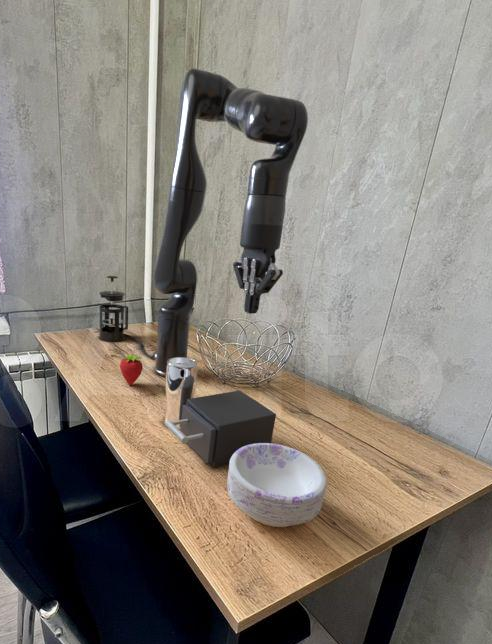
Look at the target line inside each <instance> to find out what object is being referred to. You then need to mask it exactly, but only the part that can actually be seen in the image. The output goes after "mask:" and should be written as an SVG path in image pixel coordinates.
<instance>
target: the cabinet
mask: <svg viewBox="0 0 492 644" xmlns="http://www.w3.org/2000/svg"><path fill="white" fill-rule="evenodd" d="M187 404H188V405H189V406H190V407H191V408H192V409H194V410H196V411H197V412H198V413H199V414H201V415H202V416H203V417H204V418H205V419H206V420H208V421H209V422H210V423H211V424H212V425H214V426H215V427H216V438H215V446H214V455H213V462H212V463H209V464H210V466H211V467H212V468H214V469H217V468H219V467H223V466H226V465H229V464H230V459H231V457H232V455H233V454H234V453H235V452H236V451H237V450H238V449H240V448H242V447H244V446H246V445H250V444H256V443H271V444H272V440H273V434H274V429H275V423H276V417H277V413H275V412H274V411H272V410H270V409H269V408H268V407H266V406H264V405H263V404H261V403H260V402H259V401H257V400H255V399H253V398H252V397H251V396H249V395H248V394H246V393H244V392H243V391H242V390H239V389H238V390H233V391H227V392H222V393H221V392H220V393H216V394H210V395H204V396H203V395H202V396H197V397H193V398H191V399H187V403H186V405H187Z"/></svg>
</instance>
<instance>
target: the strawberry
mask: <svg viewBox="0 0 492 644" xmlns="http://www.w3.org/2000/svg"><path fill="white" fill-rule="evenodd" d="M134 353H135V351H133V352H132V354H131V355H130V354H126V356H122V358H123V359H121V361H120V364H119V369H120V372H121V375H122V376H123V378H124V380H125V381H126V383H127V384H128V385H129V386H132V385H134V383H136V381H137V380H138V379H139V378H140V376H141V374H142V372H143V370H144V369H143V363H142V362H141V360H140V359H143V357H142V356H135V355H134Z"/></svg>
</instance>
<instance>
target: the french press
mask: <svg viewBox="0 0 492 644" xmlns="http://www.w3.org/2000/svg"><path fill="white" fill-rule="evenodd" d="M106 279H110V283H111V290H105V291H100V292H99V295H100V298H101V299H105V300H106V301H108V302H110V303H105V304H101V305H99V335H98V339H99V340H100V341H104V342H109V343H114V342H121V341H123V340H124V339H125V336H124V334H125V333H124V332H125V331H127V330H128V329H129V306H127V305H122V304H116V303H115V302H122V301H123V300H124V296H125V293H124V292H122V291H115V290H113V286H114V285H113V284H114V280H115V279H119V277H118V276H117V275H107V276H106ZM113 302H114V303H113ZM103 313H104V318H103ZM124 313H125V316H124ZM110 314H111V315H110ZM113 314H114V318H113ZM124 317H125V318H124ZM124 319H125V320H124ZM102 324H103V325H104V327H102ZM124 324H125V325H124Z"/></svg>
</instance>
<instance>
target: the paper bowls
mask: <svg viewBox="0 0 492 644" xmlns="http://www.w3.org/2000/svg"><path fill="white" fill-rule="evenodd" d="M327 479H328V478H327V476H326V473H325V471H324V469H323V468H322V466H321V465H320V464H318V462H317V461H315V460H314V459H313V458H312V457H311V456H309V455H308V454H305V453H304V452H301V451H299V450H298V449H295V448H293V447H290V446H288V445H282V444H278V443H272V442H271V443H256V444H250V445H246V446H244V447H242V448H240V449H238V450H237V451H236V452H235V453H234V454H233V455H232V457H231V459H230V464H228V472H227V481H226V489H227V492H228V496H229V498H230V499H231V501H232V502H233V504H234V505H235V506H236V507H237V508H239V509H240V510H241V511H242V512H243V513H245V514H246V515H247V516H248V517H250V518H251V519H252V520H254V521H256V522H258V523H260V524H263V525H265V526H269V527H273V528H284V527H290V526H297V525H301V524H305V523H307V522H310V521H312V520H313V519H315V518H316V517H317V516H318V515H319V513H320V512H321V509H322V506H323V503H324V498H325V494H326V489H327V487H328V480H327Z"/></svg>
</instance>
